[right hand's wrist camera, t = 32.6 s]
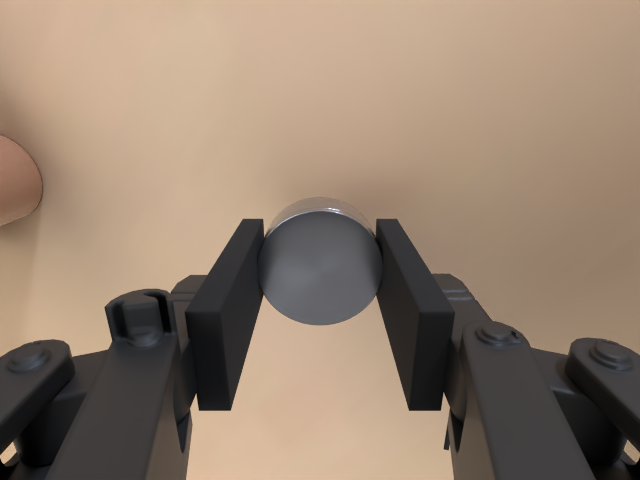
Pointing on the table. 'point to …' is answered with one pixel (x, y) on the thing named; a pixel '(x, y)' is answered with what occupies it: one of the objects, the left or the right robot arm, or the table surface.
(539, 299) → the table surface
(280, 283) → the cap
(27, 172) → the wooden furniture leg
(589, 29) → the table surface
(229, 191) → the table surface
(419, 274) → the right robot arm
